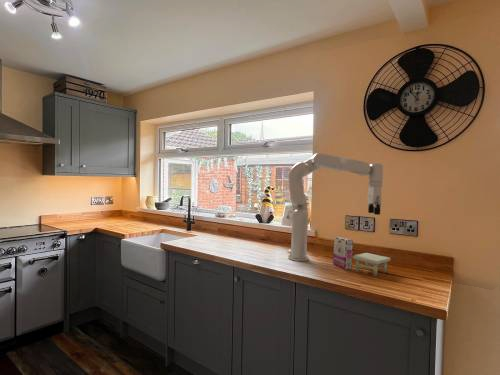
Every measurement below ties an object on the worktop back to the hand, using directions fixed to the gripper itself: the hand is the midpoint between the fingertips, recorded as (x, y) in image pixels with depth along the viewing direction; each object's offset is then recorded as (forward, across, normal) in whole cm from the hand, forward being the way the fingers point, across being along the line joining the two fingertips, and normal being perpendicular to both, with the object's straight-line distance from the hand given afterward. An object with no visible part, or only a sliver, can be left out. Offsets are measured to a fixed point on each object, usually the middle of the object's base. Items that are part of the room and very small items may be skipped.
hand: (373, 213), depth 175 cm
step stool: (+31, +13, -5) cm, 34 cm away
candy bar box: (+31, +7, -19) cm, 37 cm away
